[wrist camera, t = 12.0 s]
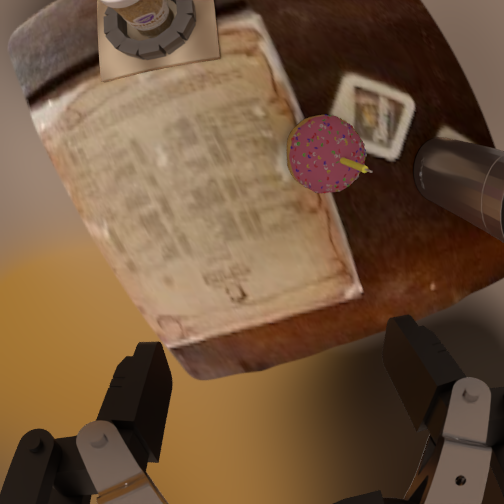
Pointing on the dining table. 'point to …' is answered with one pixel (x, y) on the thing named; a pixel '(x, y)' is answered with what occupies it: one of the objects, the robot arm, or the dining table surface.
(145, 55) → the ring holder
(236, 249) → the dining table surface
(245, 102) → the dining table surface
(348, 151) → the cupcake
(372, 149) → the dining table surface
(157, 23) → the sprinkles bottle
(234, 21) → the dining table surface
